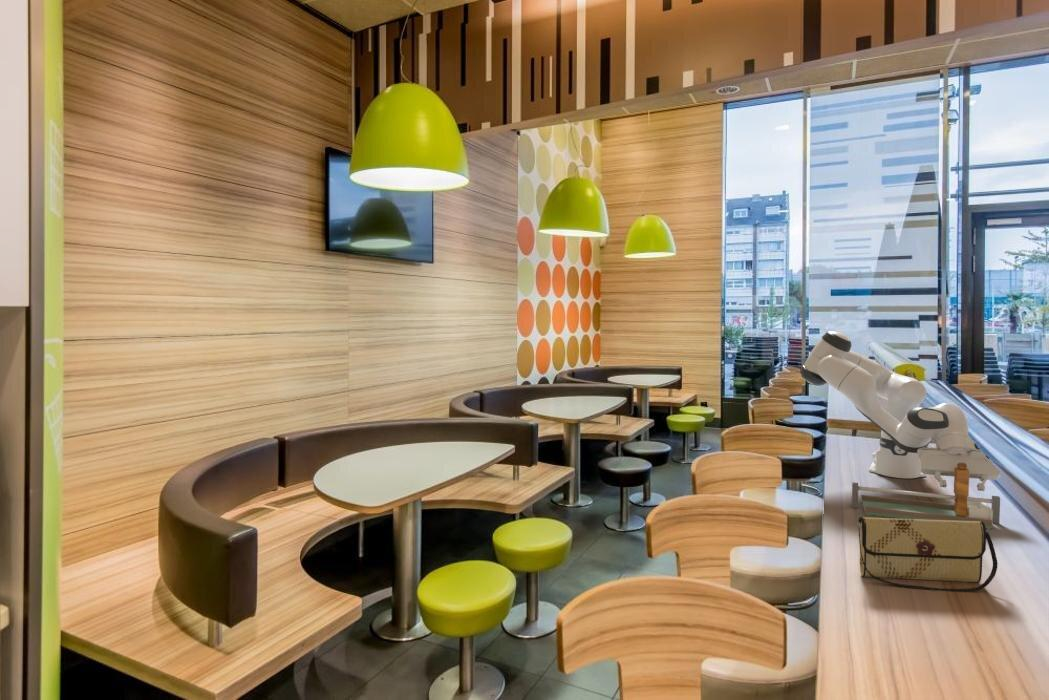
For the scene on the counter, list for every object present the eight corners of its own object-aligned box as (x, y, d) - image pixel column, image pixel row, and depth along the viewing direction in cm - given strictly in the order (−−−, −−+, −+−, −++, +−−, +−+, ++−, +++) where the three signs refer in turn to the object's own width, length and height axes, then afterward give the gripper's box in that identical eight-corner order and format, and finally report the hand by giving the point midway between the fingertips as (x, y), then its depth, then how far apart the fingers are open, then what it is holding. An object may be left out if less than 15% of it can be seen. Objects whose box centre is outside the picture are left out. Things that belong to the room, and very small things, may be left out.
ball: (978, 504, 176) (978, 515, 176) (964, 503, 177) (964, 514, 178) (981, 507, 173) (982, 519, 173) (967, 506, 174) (967, 518, 174)
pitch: (850, 500, 195) (850, 477, 194) (991, 516, 179) (992, 490, 178) (853, 513, 183) (854, 488, 183) (1005, 530, 167) (1006, 503, 166)
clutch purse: (863, 587, 135) (864, 525, 134) (851, 573, 142) (852, 514, 141) (1004, 594, 131) (1007, 530, 130) (985, 580, 137) (987, 519, 136)
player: (952, 511, 179) (954, 459, 178) (964, 512, 178) (966, 460, 177) (956, 515, 175) (957, 463, 174) (968, 516, 174) (969, 464, 173)
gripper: (917, 441, 186) (923, 479, 178) (997, 446, 177) (1006, 486, 169) (914, 451, 190) (919, 489, 182) (992, 457, 181) (1001, 497, 173)
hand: (962, 488), depth 175 cm, fingers open, 8 cm apart
